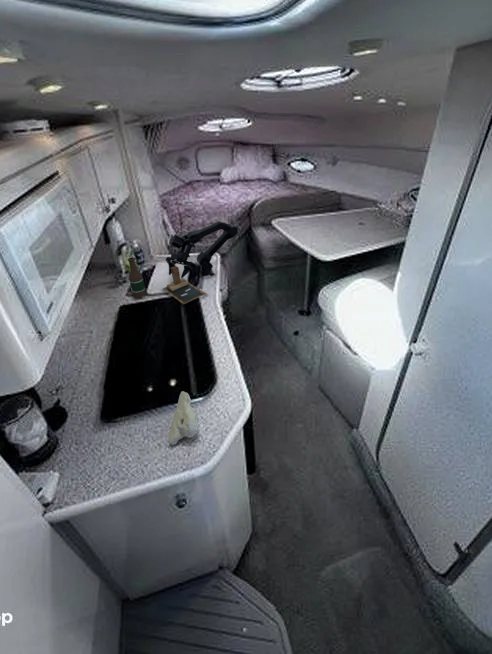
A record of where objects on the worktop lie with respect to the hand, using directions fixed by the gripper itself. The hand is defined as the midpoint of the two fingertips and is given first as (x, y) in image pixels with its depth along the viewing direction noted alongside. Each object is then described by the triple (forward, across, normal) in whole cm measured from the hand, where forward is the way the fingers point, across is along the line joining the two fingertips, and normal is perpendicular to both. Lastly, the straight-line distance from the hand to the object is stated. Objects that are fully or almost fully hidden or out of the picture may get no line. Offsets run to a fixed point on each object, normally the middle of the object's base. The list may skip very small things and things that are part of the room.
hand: (175, 276), depth 194 cm
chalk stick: (+5, +8, +5) cm, 11 cm away
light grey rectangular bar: (+9, +9, +2) cm, 13 cm away
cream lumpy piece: (+57, +63, -44) cm, 96 cm away
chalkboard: (+7, +6, +5) cm, 11 cm away
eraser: (+5, 0, +6) cm, 7 cm away
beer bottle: (+17, -15, -4) cm, 23 cm away
